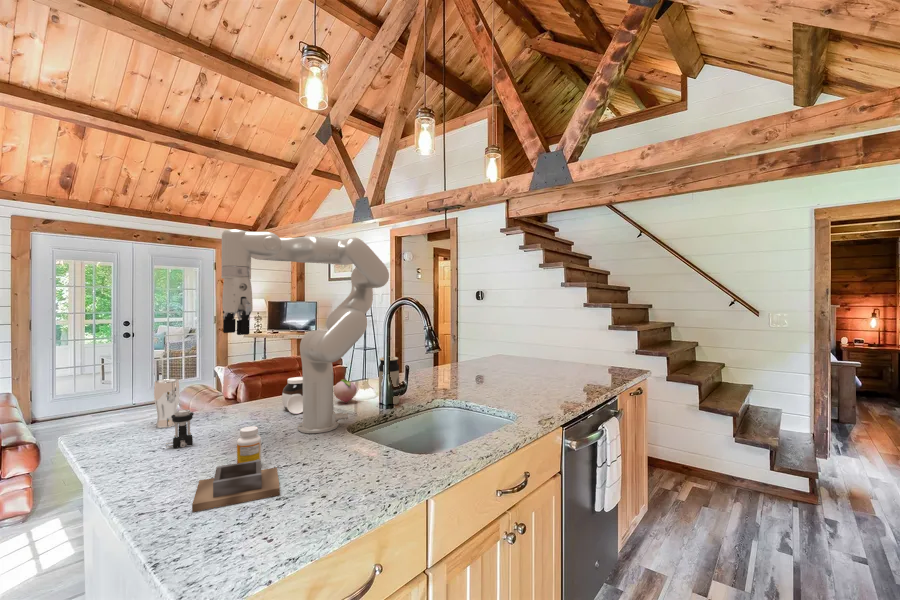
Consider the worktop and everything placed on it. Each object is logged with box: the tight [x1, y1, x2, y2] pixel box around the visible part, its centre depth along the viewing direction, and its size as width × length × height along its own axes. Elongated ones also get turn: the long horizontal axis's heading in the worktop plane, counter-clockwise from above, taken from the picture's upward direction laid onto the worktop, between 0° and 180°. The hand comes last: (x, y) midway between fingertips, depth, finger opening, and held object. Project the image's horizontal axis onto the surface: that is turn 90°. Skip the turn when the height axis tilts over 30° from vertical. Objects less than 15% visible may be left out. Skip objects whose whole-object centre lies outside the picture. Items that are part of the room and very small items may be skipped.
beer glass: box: [153, 378, 180, 429], centre depth 137 cm, size 7×7×15 cm
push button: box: [165, 409, 194, 449], centre depth 118 cm, size 7×5×10 cm
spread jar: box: [281, 376, 303, 415], centre depth 155 cm, size 12×11×12 cm
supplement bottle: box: [236, 425, 262, 464], centre depth 103 cm, size 5×5×10 cm
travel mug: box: [378, 356, 400, 405], centre depth 165 cm, size 8×8×18 cm
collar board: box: [191, 459, 281, 513], centre depth 90 cm, size 16×12×4 cm
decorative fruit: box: [333, 377, 357, 404], centre depth 165 cm, size 9×8×10 cm
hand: (236, 333), depth 117 cm, fingers open, 9 cm apart
